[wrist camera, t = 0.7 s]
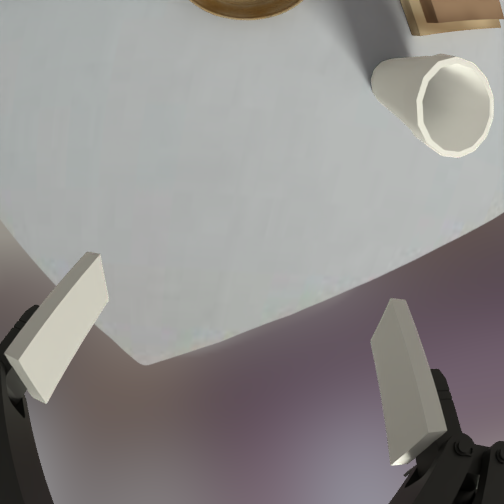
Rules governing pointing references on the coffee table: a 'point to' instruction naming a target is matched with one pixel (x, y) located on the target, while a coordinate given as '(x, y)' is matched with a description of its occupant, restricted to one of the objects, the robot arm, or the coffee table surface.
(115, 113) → the coffee table surface
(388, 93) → the foam cup
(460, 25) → the plinth
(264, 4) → the plant saucer
